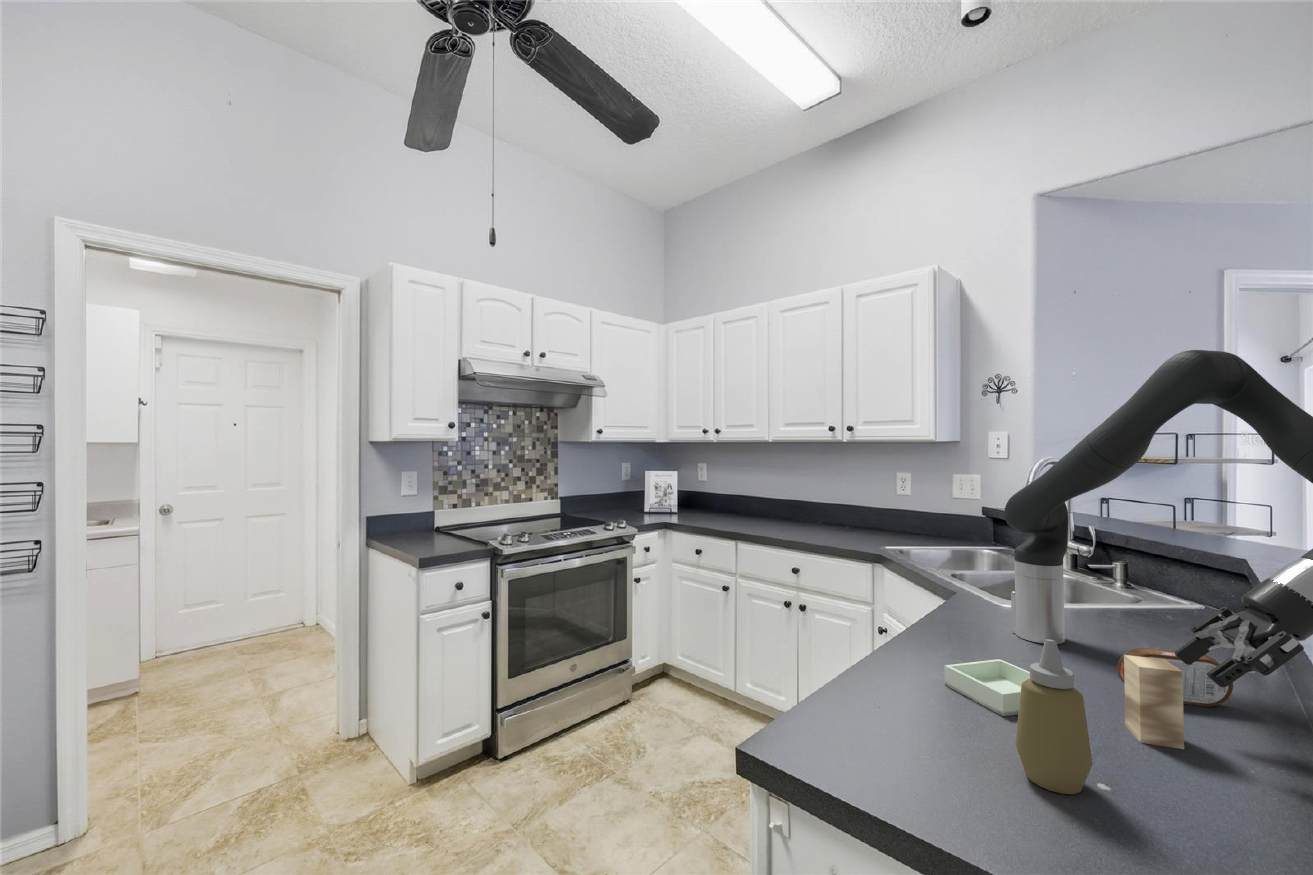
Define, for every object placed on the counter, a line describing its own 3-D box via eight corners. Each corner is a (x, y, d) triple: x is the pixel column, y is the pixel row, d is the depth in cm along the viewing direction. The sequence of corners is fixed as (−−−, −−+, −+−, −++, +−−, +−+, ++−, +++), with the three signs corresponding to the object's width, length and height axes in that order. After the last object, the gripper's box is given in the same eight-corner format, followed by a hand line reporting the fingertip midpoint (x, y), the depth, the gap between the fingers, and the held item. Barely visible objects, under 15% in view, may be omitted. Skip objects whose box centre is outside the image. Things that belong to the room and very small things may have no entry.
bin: (944, 684, 100) (944, 665, 100) (999, 677, 103) (999, 659, 104) (1003, 716, 88) (1002, 694, 88) (1063, 707, 91) (1063, 686, 92)
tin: (1225, 704, 93) (1224, 653, 93) (1237, 712, 90) (1236, 660, 90) (1116, 691, 98) (1115, 643, 98) (1125, 698, 95) (1124, 649, 95)
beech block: (1140, 742, 81) (1139, 666, 81) (1125, 726, 85) (1123, 654, 85) (1184, 749, 79) (1182, 671, 79) (1166, 732, 83) (1164, 659, 84)
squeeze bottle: (1001, 765, 75) (999, 631, 75) (1057, 762, 75) (1054, 629, 76) (1048, 803, 67) (1046, 653, 67) (1110, 800, 67) (1107, 651, 68)
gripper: (1241, 567, 84) (1149, 634, 88) (1312, 589, 71) (1201, 667, 75) (1288, 606, 82) (1192, 672, 86) (1370, 635, 69) (1253, 713, 73)
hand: (1196, 670), depth 80 cm, fingers open, 8 cm apart
